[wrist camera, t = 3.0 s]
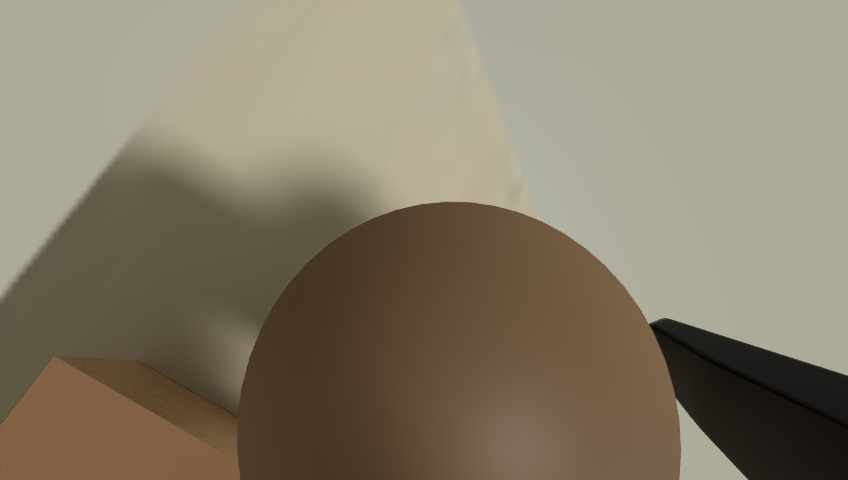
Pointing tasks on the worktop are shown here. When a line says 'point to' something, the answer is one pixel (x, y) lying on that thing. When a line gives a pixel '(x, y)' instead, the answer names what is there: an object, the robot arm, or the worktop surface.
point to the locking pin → (457, 360)
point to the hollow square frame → (115, 427)
